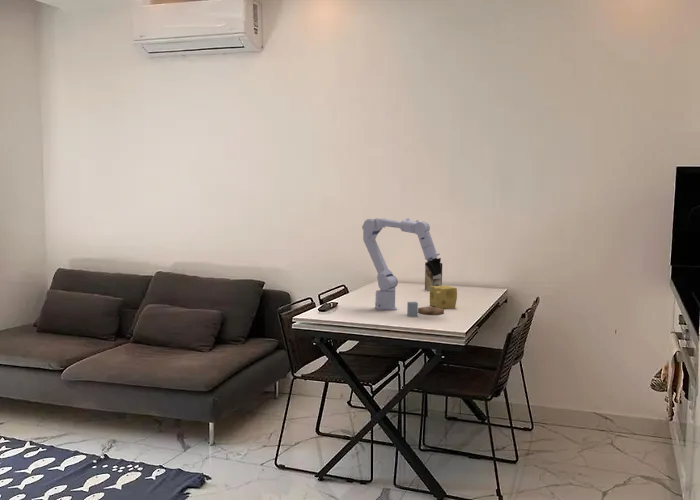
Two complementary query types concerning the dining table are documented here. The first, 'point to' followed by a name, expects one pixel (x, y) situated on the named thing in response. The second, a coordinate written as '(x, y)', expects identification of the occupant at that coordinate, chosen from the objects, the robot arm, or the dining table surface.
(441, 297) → the cheese
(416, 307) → the block
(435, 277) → the coffee box
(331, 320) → the dining table surface
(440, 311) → the disc
